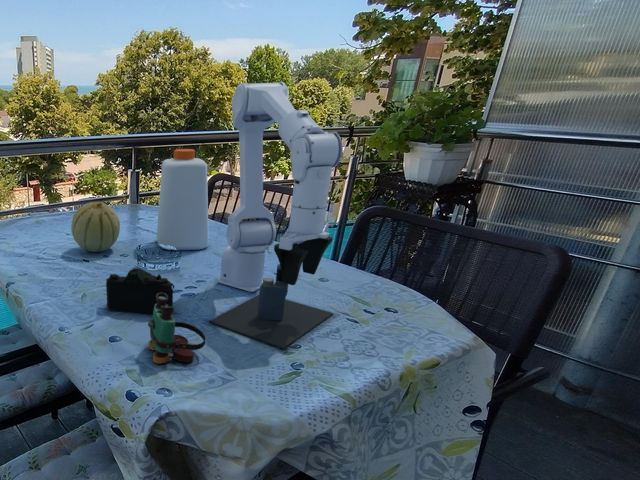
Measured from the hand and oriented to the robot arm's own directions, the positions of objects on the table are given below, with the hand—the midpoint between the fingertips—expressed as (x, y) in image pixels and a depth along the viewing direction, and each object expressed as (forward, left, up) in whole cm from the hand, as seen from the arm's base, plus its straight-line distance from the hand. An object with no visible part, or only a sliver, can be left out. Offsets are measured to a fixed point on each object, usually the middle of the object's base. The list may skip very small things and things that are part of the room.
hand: (299, 278), depth 87 cm
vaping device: (-5, 0, -10) cm, 11 cm away
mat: (-5, 0, -10) cm, 11 cm away
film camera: (-29, -13, -10) cm, 33 cm away
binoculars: (-10, -24, -10) cm, 28 cm away
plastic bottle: (-52, +29, -10) cm, 60 cm away
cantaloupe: (-67, +7, -10) cm, 68 cm away
